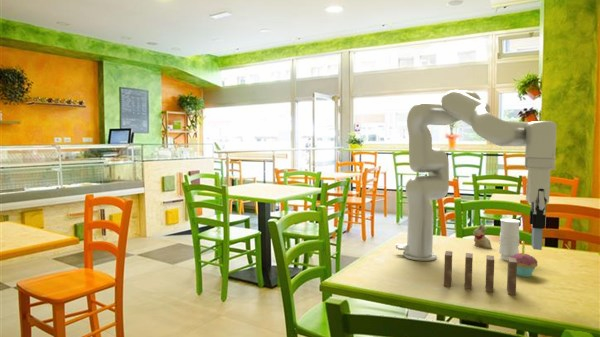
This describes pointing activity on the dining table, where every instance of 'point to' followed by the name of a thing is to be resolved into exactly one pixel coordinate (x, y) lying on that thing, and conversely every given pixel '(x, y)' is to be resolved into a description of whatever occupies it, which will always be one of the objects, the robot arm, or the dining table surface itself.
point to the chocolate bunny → (481, 238)
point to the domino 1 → (448, 269)
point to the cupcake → (525, 263)
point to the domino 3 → (489, 273)
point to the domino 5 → (536, 238)
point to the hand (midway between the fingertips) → (537, 225)
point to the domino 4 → (511, 276)
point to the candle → (509, 238)
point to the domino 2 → (468, 271)
